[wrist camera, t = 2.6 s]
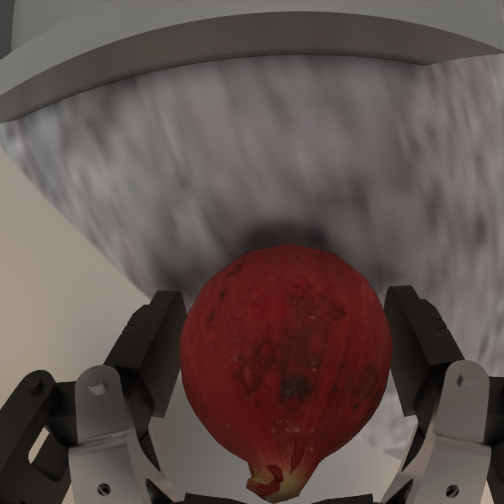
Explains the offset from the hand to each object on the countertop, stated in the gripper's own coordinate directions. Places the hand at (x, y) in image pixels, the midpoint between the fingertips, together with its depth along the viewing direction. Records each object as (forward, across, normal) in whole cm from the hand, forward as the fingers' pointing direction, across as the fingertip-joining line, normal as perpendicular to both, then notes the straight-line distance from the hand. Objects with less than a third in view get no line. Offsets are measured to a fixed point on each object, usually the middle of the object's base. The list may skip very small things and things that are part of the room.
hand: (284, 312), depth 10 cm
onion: (+2, 0, 0) cm, 2 cm away
